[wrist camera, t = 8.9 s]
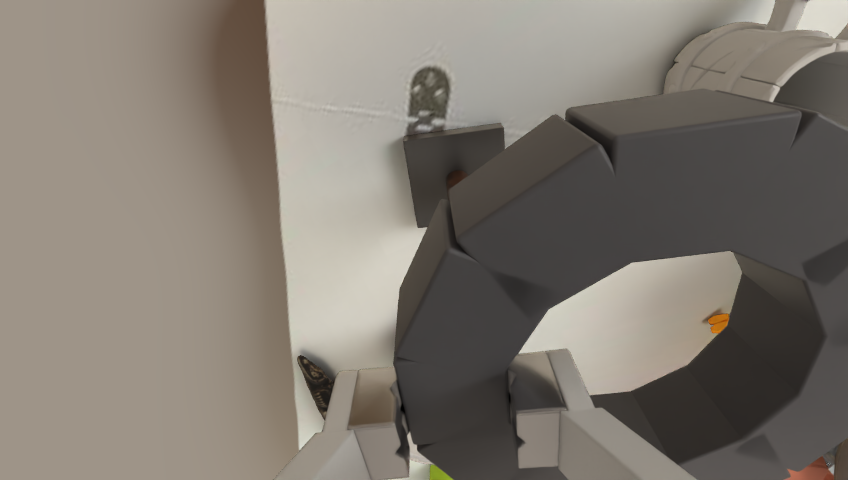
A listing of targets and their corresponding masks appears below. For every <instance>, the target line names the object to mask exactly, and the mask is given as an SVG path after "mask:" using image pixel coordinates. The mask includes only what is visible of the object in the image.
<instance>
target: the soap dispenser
mask: <svg viewBox="0 0 848 480" xmlns="http://www.w3.org/2000/svg"><path fill="white" fill-rule="evenodd" d="M430 480H453V479H452V478H451V477H449V476H448V475H447V474H446V473H444V472H443V471H442V470H440V469H439V468H438V467H437V466H435V465H431V467H430Z"/></svg>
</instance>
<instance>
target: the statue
mask: <svg viewBox="0 0 848 480" xmlns="http://www.w3.org/2000/svg"><path fill="white" fill-rule="evenodd" d="M297 360H298V364H299V366H300V368H301V370H302V372H303V375H304V378H305V380H306V383H307V386H308V388H309V390H310V392H311V394H312V397H313V399H314V401H315V403H316V406H317V408H318V410H319V412H320V413H321V415H322V417H323V418H324V420H325V418H326V414H327V410H328V406H329V402H330V398H331V394H332V391H333V387H334V383H333V382H332V381H331V380H330V379H329V378H328V377H327V376H326V374H325V373H324V372H323V371H322V370H321V369H320V368H319V367H318V366H316V365H315V364H314V363H312V362H311V361H309V360H308V359H307V358H306V357H304V356H302V355H300V356H298V358H297Z"/></svg>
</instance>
